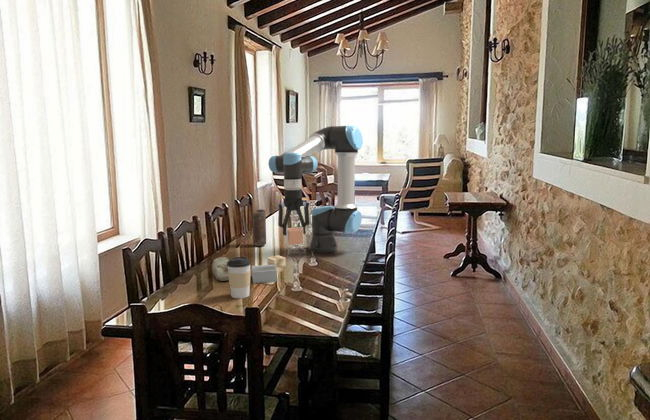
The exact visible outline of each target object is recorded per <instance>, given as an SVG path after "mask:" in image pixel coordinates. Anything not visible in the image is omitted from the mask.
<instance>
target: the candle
mask: <svg viewBox="0 0 650 420" xmlns="http://www.w3.org/2000/svg"><path fill="white" fill-rule="evenodd" d="M266 213H267V212H266V210H265V209H255V210H252V245H253V246H255V247H262V246H264V245H267V221H266V220H267V219H266V218H267V217H266V215H267V214H266Z"/></svg>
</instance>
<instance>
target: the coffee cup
mask: <svg viewBox="0 0 650 420" xmlns="http://www.w3.org/2000/svg"><path fill="white" fill-rule="evenodd" d="M228 260H229V261H228V262H227V266H228V276H229V280H228V283H229V288H230V296H231V298H233V299H245V298H248V297H249V296H250V290H251V289H250V286H251V265H252V263H251V262H252V261H251V260H250V259H249V258H248V257H247V256H246V257H245V256H235V257H230V258H229V259H228Z"/></svg>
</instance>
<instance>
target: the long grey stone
mask: <svg viewBox="0 0 650 420" xmlns="http://www.w3.org/2000/svg"><path fill="white" fill-rule="evenodd" d="M229 260H230V259H229V257H226V256H219V257H216V258H214V259H213V261H212V265H211V268H212V269H211V270H212V274H213V275H214V277H215V279H216V280H218V281H221V282H224V281H225V282H226V281H229V276H228V266H227V262H228V261H229Z"/></svg>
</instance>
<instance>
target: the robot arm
mask: <svg viewBox="0 0 650 420" xmlns="http://www.w3.org/2000/svg"><path fill="white" fill-rule="evenodd" d="M363 143H364V142H363V135H362V132H361V130H360V129H359V127H357V126H356V125H340V126H339V125H337V126H336V125H335V126H334V125H333V126H332V125H331V126H326V127H323V128H321V129H319V130H316V131H315V132H313V133H311V134H310V135H309V136H308V138H307V139H305V140H304V141H302V142H300V143H299V144H297V145H296V146H294V147H292V148H291V149H289V150H287V151H286V152H284V153H283V154H281V155H272V156H271V157H270V158H269V160H268V168H269V170H270V172H272V173H278V174H279V173H282V174H283V188H284V190H283V193H284V195H283V196H284V198H283V202H281V203H277V208H278V216H277V217H278V219H277V221H278V222H277V223H278V224H277V226H278V227H280V228H282V235H283V236H284V242H285V243H286V244H288V243H289V241H288V228H289V227H287V226H288V221H289V218H290V215H291V213H292V211H293V212H294V211H296V213H297V216H298V218H299V221H300V226H299V228H300V229H302V230H303V235H304V234H306V227H307V226H309V225H310V217H311V233H312V234H311V238H310V242H309V246H308V248H309V249H308V251H310V252H312V253H321V254H324V253H332V252H333V253H334V252H336V251H338V247H339V246H338V243H337V240H336V236H335V232H337V233H344V234H355V233H357V231H358V230H359V229H360V227H361V225H362V219H363V218H362V212H361V211H360V210H358V206H357V205H356V204H355V191H356V190H355V183H356V182H355V179H356V178H355V172H356V170H355V168H356V167H355V166H356V164H355V162H356V156H357V155H358V153H359V150H360V149H361V148H362V147H363ZM324 150H334V153H335V155H336V156H337V204H335V205H323V206H317V207H314V208H313V209H312V210H311V216H310V213H309V206H310V203H309V202H308V201H304V200H303V190H302V188H303V187H302V184H303V182H302V175H303V174H311V173H314V172H315V171H316V170H317V169H318V165H319V164H318V160H317V159H316V157H315V156H313V155H314V154H315V153H319V152H322V151H324ZM302 206H303V211H304V215H303V214H302V209H301V207H302ZM284 207H285V208H286V210H285V214H283V213H284ZM283 215H284V216H283ZM283 217H284V218H283ZM303 243H304V239H303Z"/></svg>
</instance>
